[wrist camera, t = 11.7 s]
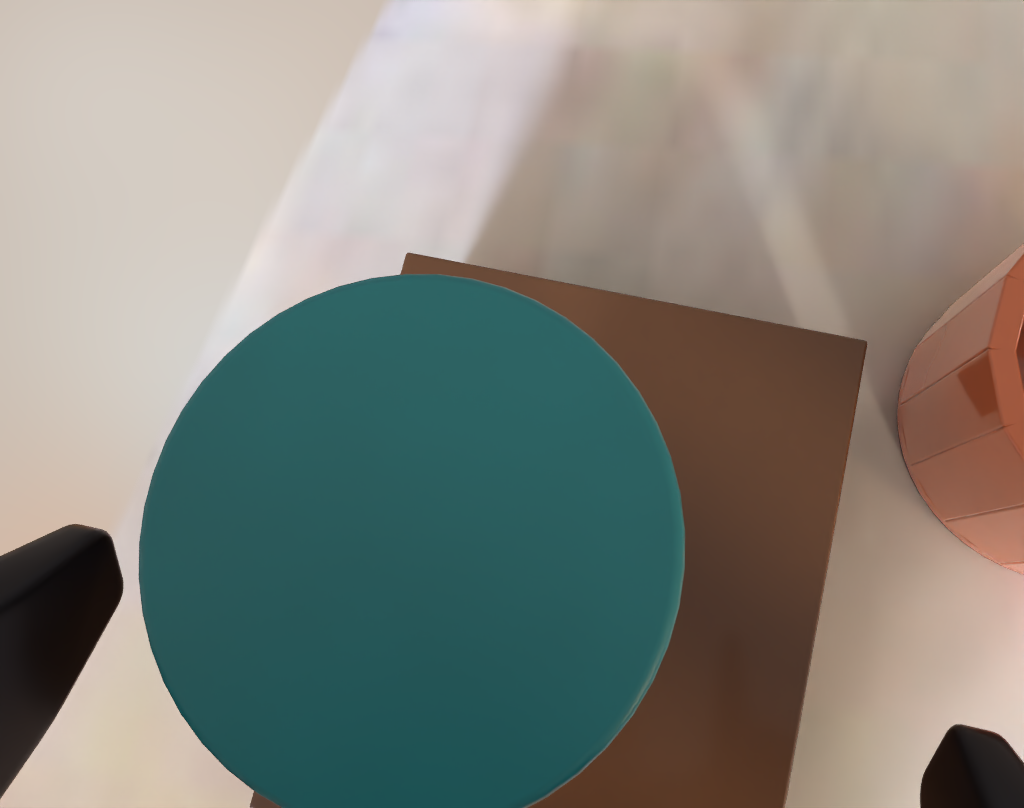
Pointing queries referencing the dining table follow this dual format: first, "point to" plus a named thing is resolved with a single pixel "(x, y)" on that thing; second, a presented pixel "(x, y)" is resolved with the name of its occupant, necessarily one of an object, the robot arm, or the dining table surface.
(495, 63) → the dining table surface
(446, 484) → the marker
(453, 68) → the dining table surface
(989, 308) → the pen cup
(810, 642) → the shelf
